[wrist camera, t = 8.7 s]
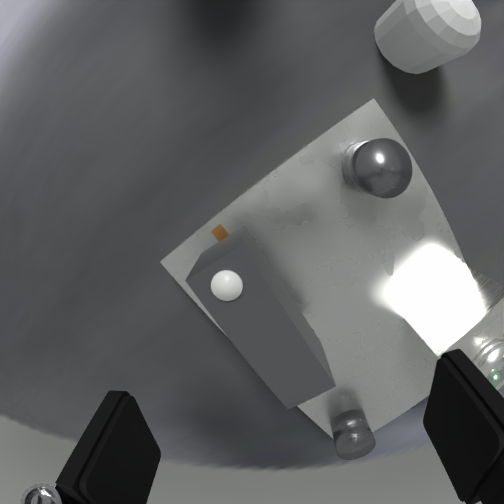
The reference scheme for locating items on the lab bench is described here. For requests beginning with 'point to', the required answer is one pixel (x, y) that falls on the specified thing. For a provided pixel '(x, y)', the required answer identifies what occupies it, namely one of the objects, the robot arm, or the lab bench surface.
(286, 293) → the block
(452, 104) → the lab bench surface
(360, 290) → the levelling base
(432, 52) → the capsule
